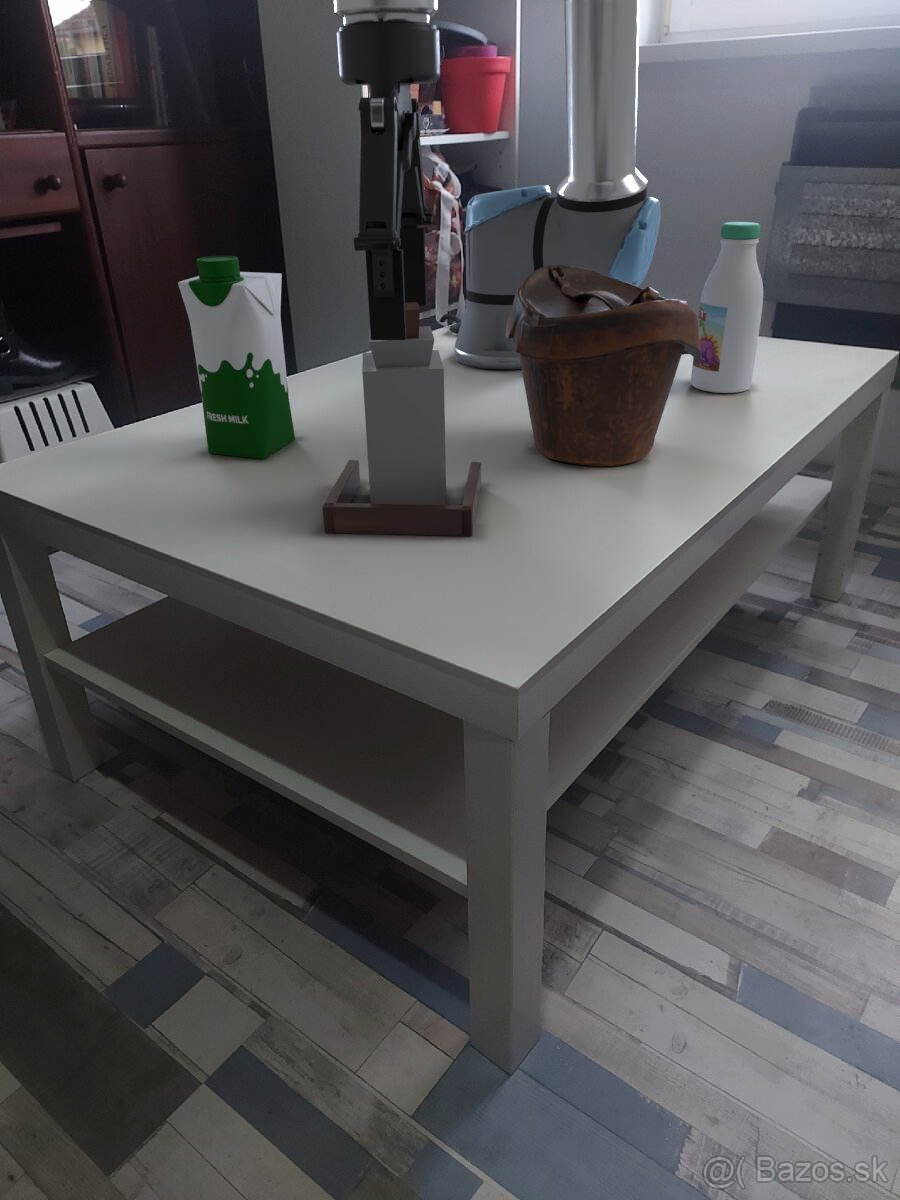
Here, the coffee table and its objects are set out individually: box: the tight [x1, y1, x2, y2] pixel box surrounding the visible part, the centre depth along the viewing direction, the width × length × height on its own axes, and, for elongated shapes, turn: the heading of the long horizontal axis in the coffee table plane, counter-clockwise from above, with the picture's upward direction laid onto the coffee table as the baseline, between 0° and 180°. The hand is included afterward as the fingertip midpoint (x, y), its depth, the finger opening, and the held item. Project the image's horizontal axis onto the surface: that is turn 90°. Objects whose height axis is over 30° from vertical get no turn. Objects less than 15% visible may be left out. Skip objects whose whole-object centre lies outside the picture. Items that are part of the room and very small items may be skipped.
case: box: [506, 265, 701, 467], centre depth 92 cm, size 18×20×18 cm
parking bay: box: [321, 459, 482, 537], centre depth 82 cm, size 12×13×2 cm
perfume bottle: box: [361, 302, 447, 505], centre depth 79 cm, size 7×7×18 cm
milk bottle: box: [690, 221, 764, 394], centre depth 113 cm, size 8×8×20 cm
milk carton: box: [177, 255, 296, 460], centre depth 94 cm, size 9×9×20 cm
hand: (401, 321), depth 75 cm, fingers open, 13 cm apart
